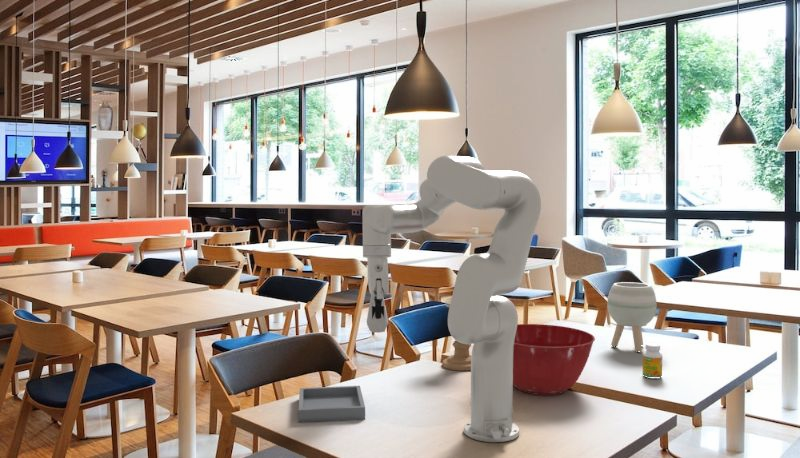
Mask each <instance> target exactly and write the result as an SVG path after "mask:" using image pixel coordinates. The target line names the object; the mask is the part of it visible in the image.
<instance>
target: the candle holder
mask: <svg viewBox="0 0 800 458" xmlns="http://www.w3.org/2000/svg"><path fill="white" fill-rule="evenodd" d="M450 303H451V300H447V301H446V302H445V306H446V308H449V307H450ZM452 346H453V348H454V352H453V354H451V355H449V356H448V357H446V358H445V359H443V360H442V363H441V364H442V367H444V368H445V369H447V370H450V371H451V370H452V371H459V372H463V371H464V372H465V371H467V372H468V371H471V355H472V354H471V355H470V348H471V347H472V344H462V343H459V342H457V341H456V340H454V341H453V342H452Z"/></svg>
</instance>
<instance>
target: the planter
mask: <svg viewBox="0 0 800 458" xmlns="http://www.w3.org/2000/svg"><path fill="white" fill-rule="evenodd" d="M606 304H607V306H606V307H607V311H608V314H609V316H610V318H611V319H612V320H613V321H614V322H615V323H616V327H615V330H614V333H613V337H612V340H611V344H610V346H611V345H612V346H617V347H618V345H619V342H620V339H621V337H622V335H623V332H624V329H625V327H631V330H632V337H633V345H634V351H635V352H636V351H643V346H644V340H643V339H644V338H643V332H642V327H646V326H647V325H648V324H649V323H651V321H652V320H653V319H654V317H655V316H656V313H657V307H658V305H657V297H656V293H655V290H654V288H653V286H652V285H651V284H649V283H643V282H633V281H632V282H631V281H629V282H627V281H626V282H625V281H621V282H614V283H613V284H612V285H611V287H610V290H609V292H608V296H607V303H606ZM641 345H643V346H641ZM612 346H611V347H612Z"/></svg>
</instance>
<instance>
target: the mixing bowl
mask: <svg viewBox="0 0 800 458" xmlns="http://www.w3.org/2000/svg"><path fill="white" fill-rule="evenodd" d="M595 337H596V336H594V335H593V334H591V333H589V332H588V331H585V330H581V329H577V328H573V327H569V326H562V325H553V324H552V325H551V324H537V323H518V324H517V330H516V335H515V341H514V352H513V387H515V388H517V389H518V390H519V391H522V392H524V393H528V394H533V395H541V396H542V395H543V396H553V395H560V394H562V393H564V392H566V391H567V390H569V389H571V388H572V387H573V386H574V385H575V384H576V383H577V381H578V380H579V378H580V376H581V375H582V373H583V371H584V369H585V368H586V365H587V363H588V361H589V357H590V353H591V352H592V347H593V344H594V342H595V340H596V338H595Z"/></svg>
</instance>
